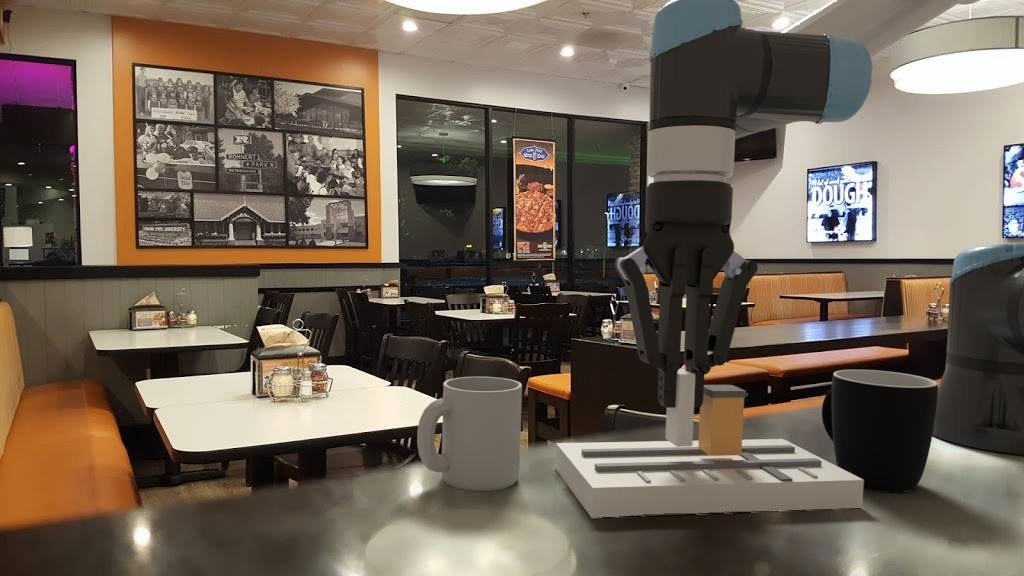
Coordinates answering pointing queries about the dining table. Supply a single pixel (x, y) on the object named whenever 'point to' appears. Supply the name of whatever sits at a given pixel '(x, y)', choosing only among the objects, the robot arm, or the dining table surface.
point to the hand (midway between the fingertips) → (678, 442)
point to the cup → (474, 433)
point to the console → (702, 478)
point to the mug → (881, 426)
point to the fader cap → (721, 420)
